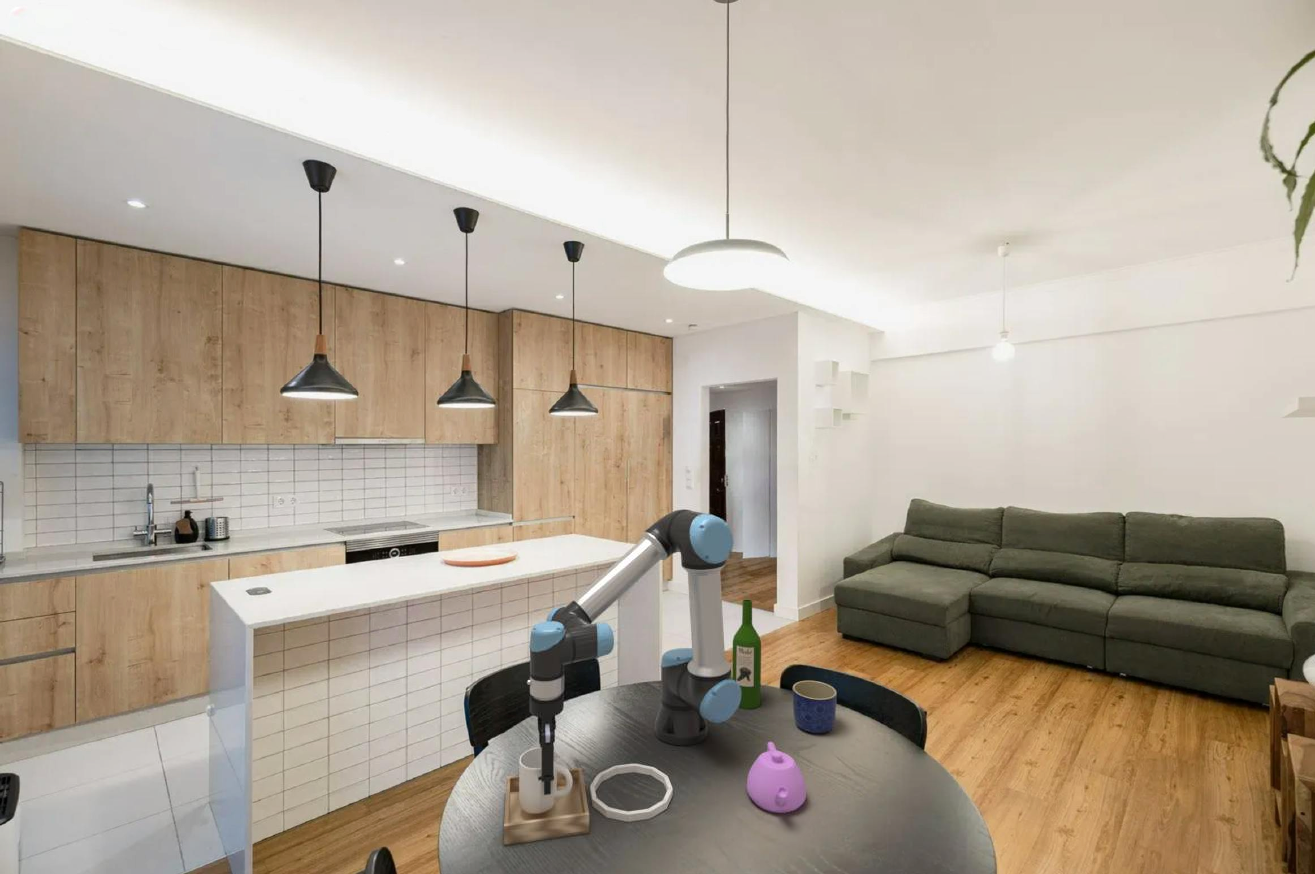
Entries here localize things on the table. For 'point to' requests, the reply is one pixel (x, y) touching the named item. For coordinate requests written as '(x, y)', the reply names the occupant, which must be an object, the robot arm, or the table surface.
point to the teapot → (776, 782)
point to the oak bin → (547, 813)
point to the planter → (814, 706)
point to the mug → (538, 781)
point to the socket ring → (638, 813)
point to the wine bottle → (747, 660)
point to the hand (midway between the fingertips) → (546, 793)
